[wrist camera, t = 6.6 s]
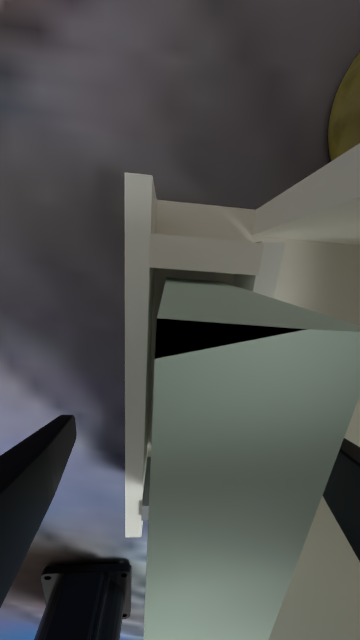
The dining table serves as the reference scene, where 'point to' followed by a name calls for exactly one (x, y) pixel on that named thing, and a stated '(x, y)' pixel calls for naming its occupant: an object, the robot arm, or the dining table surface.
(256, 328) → the door
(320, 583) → the cabinet
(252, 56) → the dining table surface
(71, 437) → the robot arm
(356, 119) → the vase
